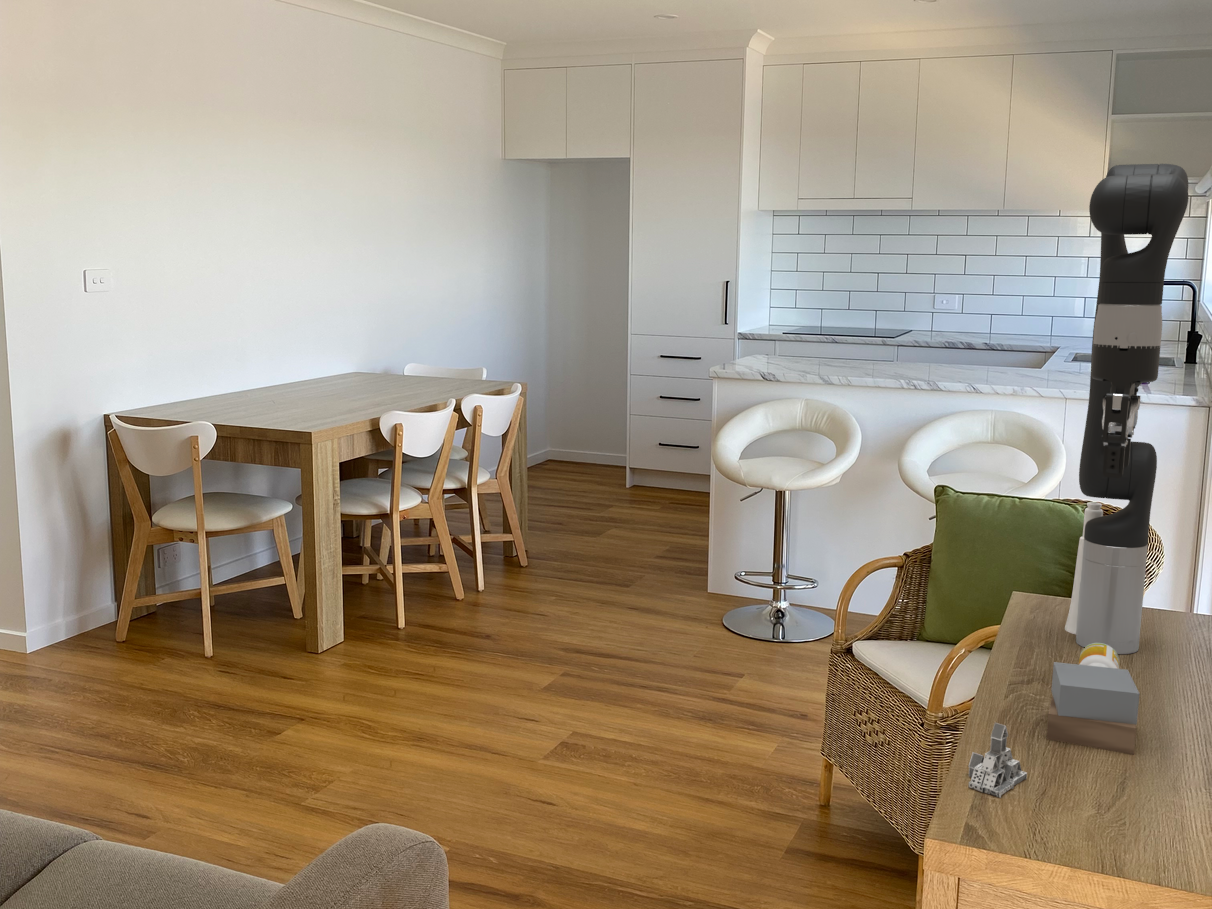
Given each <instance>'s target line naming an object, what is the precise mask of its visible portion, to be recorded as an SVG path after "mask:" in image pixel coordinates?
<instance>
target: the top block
mask: <svg viewBox="0 0 1212 909" xmlns="http://www.w3.org/2000/svg"><path fill="white" fill-rule="evenodd" d="M1078 664H1079V663H1078ZM1078 664H1076V663H1068V662H1066V663H1065V662H1057V661H1053V669H1052V676H1051V678H1052V682H1051V694H1052V696H1053V698H1054V702H1055V706H1056V709H1057V713H1058V715H1059V716H1068V717H1076V718H1085V719H1093V720H1102V721H1110V722H1119V723H1127V724H1136V726H1137V725H1138V724H1137V723H1138V714H1139V705H1140V695H1141V694H1140V691H1139V690H1138V688H1137V686H1136V684H1135V682H1134V678H1133V677H1132V675H1131V673H1130V672H1129V669H1124V668H1119V669H1116V668H1107V667H1097V666H1088V665H1078Z"/></svg>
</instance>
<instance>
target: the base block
mask: <svg viewBox="0 0 1212 909" xmlns="http://www.w3.org/2000/svg"><path fill="white" fill-rule="evenodd" d="M1049 705H1050V706H1049V709H1048V716H1047V726H1046V740H1051V741H1055V742H1062V743H1066V742H1067V744H1072V743H1073V745H1078V746H1085V747H1090V748H1095V749H1101V750H1106V751H1111V752H1117V753H1122V754H1127V755H1135V749H1136V748H1135V745H1136V734H1137V725H1136V724H1127V723H1119V722H1110V721H1102V720H1093V719H1085V718H1076V717H1068V716H1059V715H1058V713H1057V709H1056V706H1055V702H1054V698H1053V695H1052V696H1051V700H1050V704H1049Z"/></svg>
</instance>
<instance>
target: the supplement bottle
mask: <svg viewBox="0 0 1212 909" xmlns="http://www.w3.org/2000/svg"><path fill="white" fill-rule="evenodd" d="M1078 658H1079V659H1078V665H1088V666H1097V667H1107V668H1116V669H1120V657H1119V654H1117V653H1116V651H1115V650H1114V649H1113V648H1112V647H1110V646H1108V645H1106V644H1103V643H1092V644H1089V645H1088V646H1086V647H1085V648H1084V647H1083V649H1081V651H1080V654H1079V657H1078Z"/></svg>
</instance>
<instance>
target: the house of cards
mask: <svg viewBox="0 0 1212 909" xmlns="http://www.w3.org/2000/svg"><path fill="white" fill-rule="evenodd" d="M1008 737H1009V732H1008V729H1007V725H1005V724H1002V723H999V722H994V724H993V728H992V731H991V734H990V746H989V747H990V750H988V751H987V752H986V753H984V755H982V754H980V753H977V752H974V751H972V753H971V757H970V760H969V763H968V777H970V778H971V779H970V781H968V788H969V789H973V790H975V791H978V792H981V793H982V794H983V793H984V794H988V795H991V796H993V797H996V798H1000V799H1001V798H1002V795H1004V794H1005V793H1006V792H1008V791H1009V790H1011V789H1015V786H1016V785H1018V784H1019V783H1022V781H1024V780H1027V776H1028V772H1026V771H1023V769H1022V766H1021V763H1020V760H1017V759H1014V758H1013V754H1012V750H1011V748H1009V747H1007V742H1008V741H1007V740H1008Z"/></svg>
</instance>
